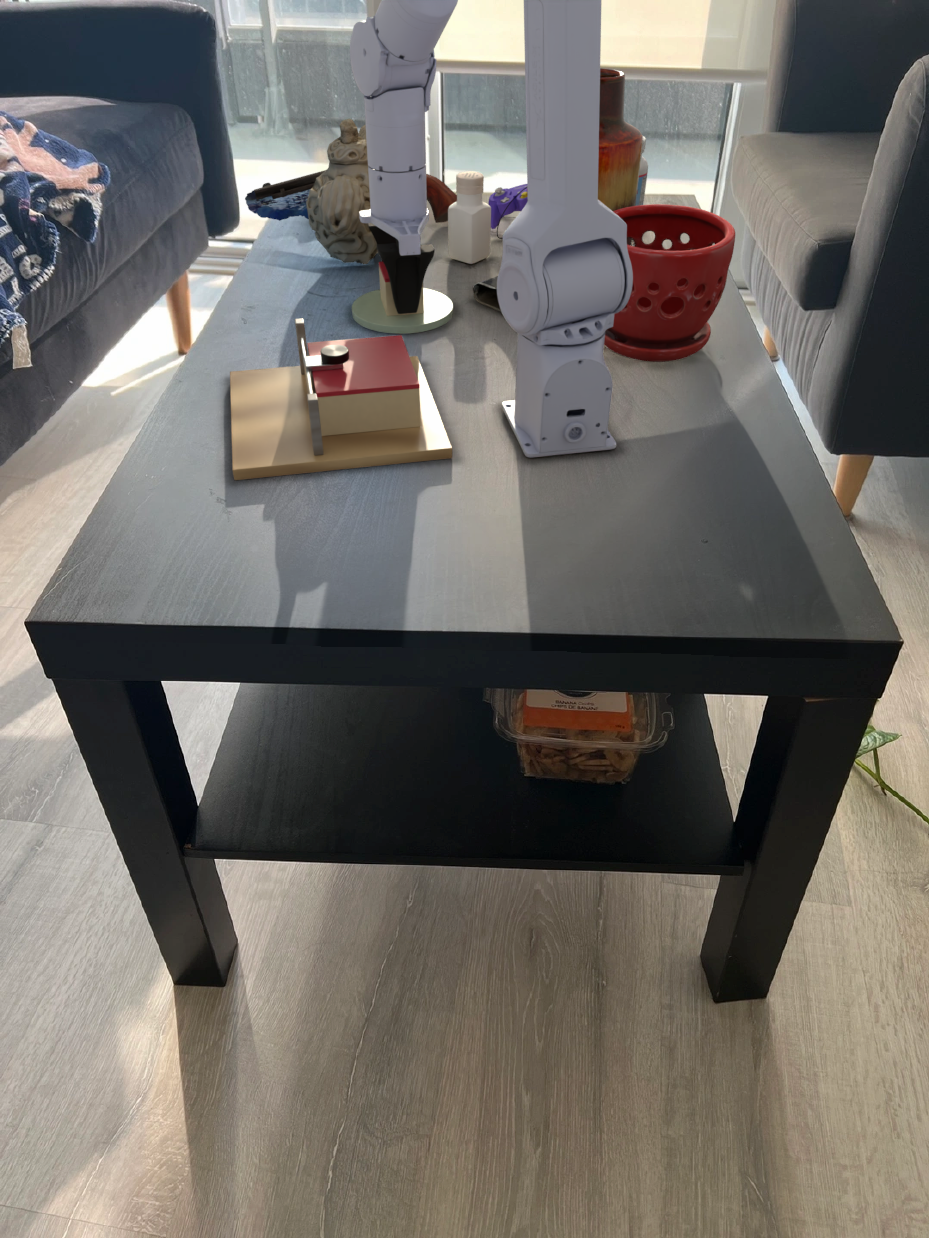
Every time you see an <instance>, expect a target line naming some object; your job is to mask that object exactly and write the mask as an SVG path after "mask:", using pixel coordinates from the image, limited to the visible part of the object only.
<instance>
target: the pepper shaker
mask: <svg viewBox="0 0 929 1238" xmlns="http://www.w3.org/2000/svg"><path fill="white" fill-rule="evenodd" d="M484 181H485V179H484V173H481V172H479V171H462V172H459V173H457V174H456V175H455V185H456V186H455V194H456V195H457V202H454V203H453V204H451V205H450V206H449V208H448V221H447V254H448V257H449V258H450V259H453V260H454V261H455V260H456V261H459V262H462V263H466V264H468V265H472V264H475V263H478V262H480V261H483V260H485V259H487V258H488V257H489V256H490V255H491V234H492V233H491V232H492V231H491V230H492V228H491V207H490V206H489V204H488V203H486V202H485V201H483V194H484Z"/></svg>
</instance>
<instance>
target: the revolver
mask: <svg viewBox="0 0 929 1238" xmlns="http://www.w3.org/2000/svg"><path fill="white" fill-rule="evenodd" d="M326 170H327V169H325V170H321V171H317V172H313V173H311V174H306V175H303V176H299V177H295V178H292V179H288V180H284V181H281V182H277V183H273V184H271V183H270V182H266V183H265V182H264V183H263V184H262V186H261V187H258V188H255V189H253V190H254V192H255V195H256V198H257V200H258V199H262V198H266V197H269V196H272V198H273V199H277V198H280V197H282V198H283V197H286V196H288V195H291V194H295V193H299V192H302V191H306V190H309V189H311V188H312V187H313V185H314V183H315V181H316V178H317V177H319V176H320V175H321V174H322V173H323V172H324V171H326ZM426 190H427V203H428V204H429V206H430V208H431V211H432V215H433V220H434V222H435V223H437V224H439V223H447V222H448V208H449V206H450V205H451V204H453V203H454V202H457V193H456V192H455V191H453V190H452V188H450V187H449V186H448V185H447V184H446V183H445V182H444V181H442V180H441V179H440V178H438V177H436V176H434V175H431V174H429V173H426Z"/></svg>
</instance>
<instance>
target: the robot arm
mask: <svg viewBox="0 0 929 1238" xmlns="http://www.w3.org/2000/svg"><path fill="white" fill-rule="evenodd" d="M458 2H459V0H380V2H379V4H378V7H377V10H376V11H375V15H373V16H368V17H366V19H365V20H359V21H356V22H355V24H354V25H353V28H352V32H351V36H350V40H349V62H350V67H351V73H352V76H353V77H352V78H353V79H354V82H355V85H356V86H357V88H358V90H359V91H360V93H361V94H362V95H363V104H364V121H365V122H364V123H365V124H366V141H367V158H368V174H369V191H370V208H371V209H370V210H363V211H360V212H359V219H360V221H361V222H362V223H367V224H368V227H369V229H370V231H371V232H372V234H373V236H374V238H375V240H376V243H377V250H378V253H377V254H378V255H379V257H380V260H381V262H383V263H384V264H385V266H386V269H387V272H388V276H389V279H390V284H391V289H392V295H393V300H394V304H395V307H396V310H397V313H398V314H406V313H416V312H417V310H418V306H419V301H420V296H421V290H422V284H423V285H424V279H425V276H426V272H427V270H428V268H429V266H430V263H431V262H432V260H433V258H434V255H435V247H434V246H433V244H432V243H427V244H421V234H422V233H423V231H424V229H425V227H426V226H427V224H428V222H429V220H430V211H429V209H428V200H427V190H426V174H427V153H426V152H427V151H426V150H427V148H426V147H427V144H426V113H427V112H428V111H429V110H430V106H431V93H432V92H431V91H432V87H433V84H434V82H435V78H436V73H437V58H436V56H435V48H436V46H437V44H438V42H439V40H440V38H441V36H442V34H443V32H444V31H445V28H446V26H447V24H448V22H449V20H450V19H451V17H452V15H453V13H454V11H455V9H456V7H457V5H458ZM523 36H524V37H523V38H524V40H523V41H524V42H523V43H524V81H525V82H524V83H525V85H524V86H525V90H524V91H525V132H526V133H525V134H526V135H525V136H526V137H525V139H526V176H527V177H526V179H527V180H526V182H527V183H526V184H527V190H528V202H527V204H526V205H525V207H524V208H523V209H522V211H519V212H518V213H517V215H516V216H515V217H516V218H513V220H512V221H511V223H510V224H509V225H508V227H507V228H506V229H505V231H504V232H503V234H502V238H503V239H502V257H501V263H500V267H499V271H498V274H497V276H498V278H497V297H498V302H499V306H500V309H501V311H500V312H501V314H502V316H503V318H504V319H505V321H506V323H507V324H508V325H509V326H510V328H512V330H513V331H514V332H515V333H516V334H517V342H516V343H517V344H516V345H517V346H516V368H515V391H514V400H504V401H502V402H501V409H502V411H503V413H504V415H505V418H506V419H507V422H508V424H509V426H510V428H511V430H512V432H513V434H514V436H515V438H516V440H517V442H518V444H519V446H520V448H521V451H522V452H523V454H524V455H525V457H527V458H541V457H548V456H549V457H550V456H561V455H569V454H579V453H589V452H599V451H609V450H614V449H616V448H617V441H616V440H615V438H614V437H613V436H612V433H611V432H610V431H609V421H610V412H611V405H612V396H613V386H614V385H613V377H612V373H611V371H610V369H609V367H608V365H607V363H606V360H605V356H604V348H605V345H604V340H605V331H606V330H607V329H608V328H611V327H613V323H614V314H616V313H618V312H620V311H621V310H622V309H623V308H624V307H625V306H626V304H627V303H628V301H629V298H630V295H631V291H632V285H633V270H632V265H631V261H630V258H629V254H628V249H627V224H626V223H625V222H624V221H623V220H622V219H621V218H620V217H619V216H618V215H617V214H615V213H614V212H613V211H612V210H610V209H609V208H608V207H607V206H605V205H604V204H603V203H602V202H600V201H599V200H598V157H599V104H600V68H601V51H602V50H601V49H602V48H601V46H602V43H601V42H602V0H523ZM365 124H364V125H365Z"/></svg>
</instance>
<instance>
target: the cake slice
mask: <svg viewBox="0 0 929 1238" xmlns="http://www.w3.org/2000/svg"><path fill="white" fill-rule="evenodd" d="M378 272H379V273H378V274H379V275H378V276H379V289H380V296H381V301H382V303H383V306H384V309H385V312H386V315H387V316H395V315H408V314H421V313H424V293H423V288H424V283H423V284H422V290H421V296H420V301H419V306H418V310H417V312H416V313H406V314H398V313H397V310H396V307H395V304H394V300H393V295H392V289H391V284H390V279H389V276H388V272H387V269H386V266H385V264H384V263H383V262H382V261H378Z"/></svg>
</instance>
